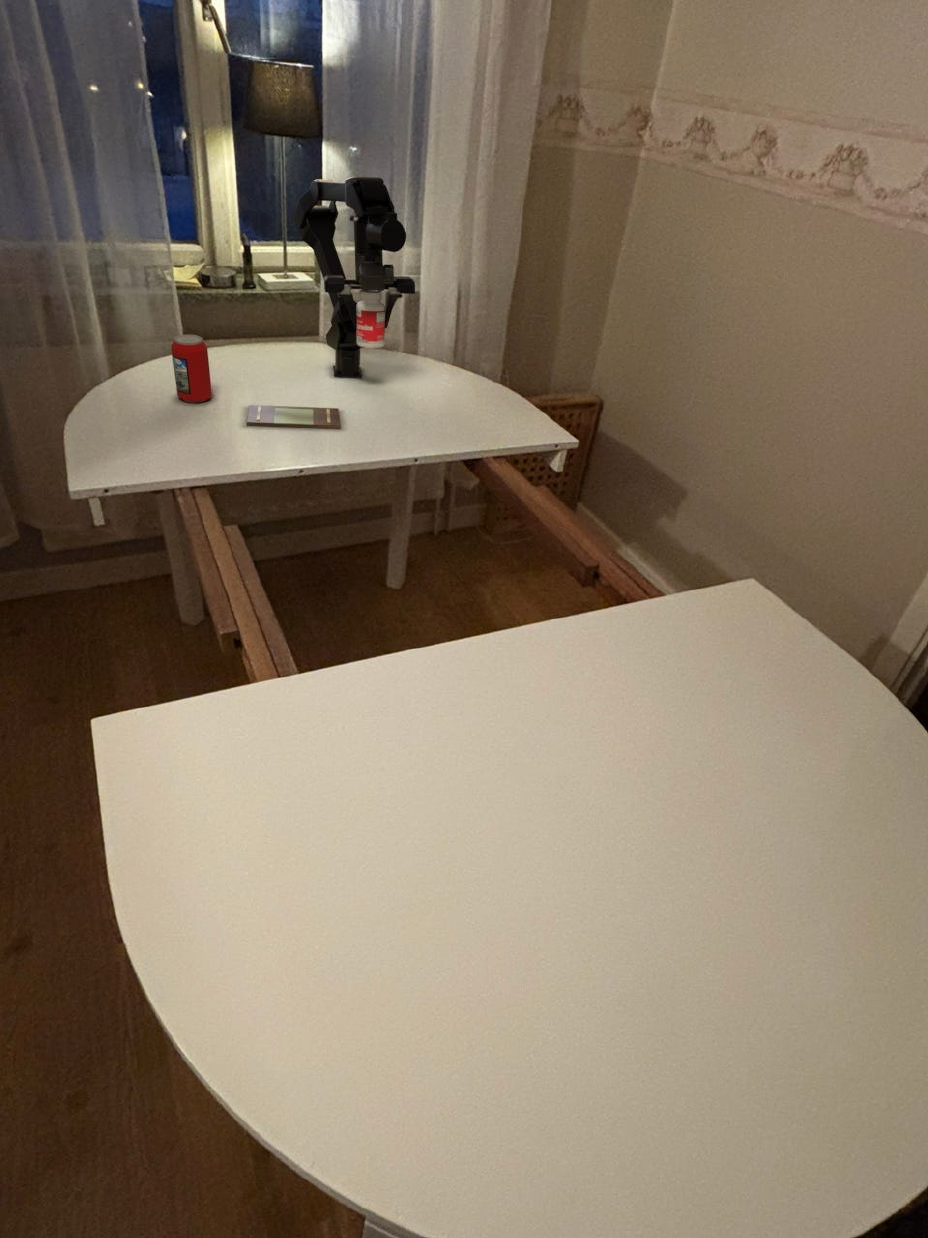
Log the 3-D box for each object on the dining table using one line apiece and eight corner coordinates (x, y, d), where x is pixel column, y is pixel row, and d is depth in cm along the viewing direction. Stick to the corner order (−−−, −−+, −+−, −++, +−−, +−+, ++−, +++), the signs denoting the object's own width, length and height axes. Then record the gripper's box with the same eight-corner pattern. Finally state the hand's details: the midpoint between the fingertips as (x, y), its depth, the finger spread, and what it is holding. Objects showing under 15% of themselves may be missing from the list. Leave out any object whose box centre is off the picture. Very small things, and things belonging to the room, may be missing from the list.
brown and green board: (249, 408, 150) (248, 403, 150) (338, 411, 154) (338, 407, 153) (246, 426, 143) (246, 421, 143) (340, 429, 147) (340, 424, 146)
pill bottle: (350, 344, 161) (349, 289, 155) (369, 341, 165) (369, 288, 160) (371, 349, 158) (371, 293, 152) (390, 346, 162) (391, 291, 157)
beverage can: (175, 393, 153) (167, 333, 146) (209, 391, 155) (203, 332, 148) (180, 405, 148) (172, 344, 141) (215, 403, 151) (209, 343, 144)
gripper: (324, 250, 143) (328, 334, 151) (419, 252, 147) (418, 334, 155) (321, 245, 153) (326, 325, 161) (411, 247, 156) (411, 325, 164)
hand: (370, 327), depth 160 cm, fingers closed on pill bottle, 6 cm apart
